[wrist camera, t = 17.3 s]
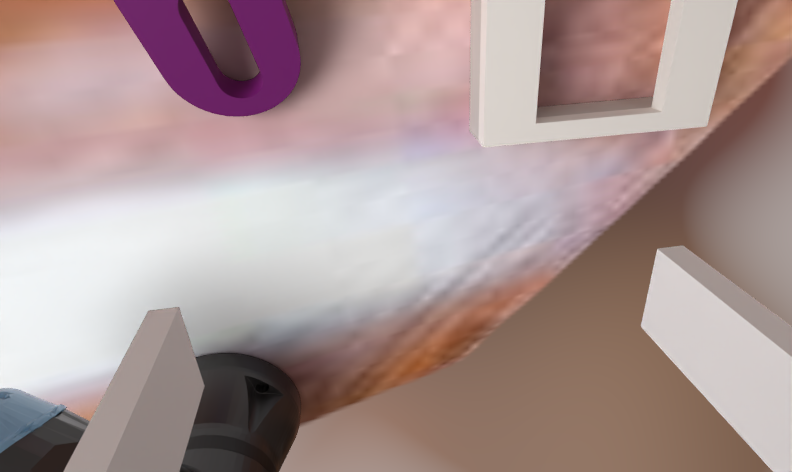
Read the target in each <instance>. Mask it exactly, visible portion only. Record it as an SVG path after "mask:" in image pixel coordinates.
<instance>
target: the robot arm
mask: <svg viewBox="0 0 792 472" xmlns="http://www.w3.org/2000/svg"><path fill="white" fill-rule="evenodd" d="M641 327H642V329H643V330H645V332H646V333H647V334H648V335H649V336H650V337H651V338H652V340H653V341H654V342H655V343H656V344H657V345H658V346H659V347H660V348H661V349H662V350H663V352H664V353H665V354H666V355H667V356H668V357H669V358H670V359H671V360H672V361H673V363H674V364H675V365H676V366H677V367H678V368H679V369H680V370H681V371H682V372H683V373H684V374H685V375H686V377H687V378H688V379H689V380H690V381H691V382H692V383H693V384H694V385H695V387H696V388H697V389H698V390H699V391H700V392H701V393H702V394H703V395H704V396H705V398H706V399H707V400H708V401H709V402H710V403H711V404H712V405H713V406H714V407H715V408H716V410H717V411H718V412H719V413H720V414H721V415H722V416H723V417H724V418H725V419H726V420H727V422H728V423H729V424H730V425H731V426H732V427H733V428H734V429H735V430H736V431H737V433H738V434H739V435H740V436H741V437H742V438H743V439H744V440H745V441H746V442H747V444H749V446H750V447H751V448H752V449H753V450H754V451H755V452H756V453H757V454H758V456H759V457H760V458H761V459H762V460H763V461H764V462H765V463H766V464H767V465H768V467H769V468H770V469H771V470H772V471H773V472H792V326H791V325H789V324H788V323H787V322H785V321H784V320H783V319H781V318H780V317H779V316H777V315H776V314H775V313H773V312H772V311H771V310H769V309H768V308H766V307H765V306H764V305H762V304H761V303H759V302H758V301H757V300H756V299H754V298H753V297H752V296H750V295H749V294H748V293H746V292H745V291H744V290H742V289H741V288H739V287H738V286H737V285H735V284H734V283H732V282H731V281H730V280H729V279H727V278H726V277H724V276H723V275H722V274H721V273H719V272H718V271H717V270H715V269H714V268H712V267H711V266H710V265H708V264H707V263H706V262H704V261H703V260H702V259H700V258H699V257H698V256H696V255H695V254H694V253H692V252H691V251H690V250H688V249H687V248H686V247H684V246H676V247H668V248H659V249H657V253H656V258H655V263H654V267H653V272H652V277H651V281H650V286H649V291H648V295H647V300H646V305H645V310H644V315H643V319H642V324H641ZM66 408H67V407H66V406H64V405H61V404H60V405H55V404H52V403H50V402H47V401H45V400H42V399H40V398H37V397H35V396H33V395H30V394H28V393H26V392H23V391H21V390H18V389H13V388H3V389H0V472H279V471H280V468H281V466H282V464H283V462H284V460H285V458H286V456H287V454H288V452H289V450H290V448H291V446H292V444H293V442H294V440H295V438H296V435H297V432H298V429H299V424H300V413H301V401H300V396H299V393H298V391H297V389H296V387H295V385H294V384H293V382H292V381H291V380H290V379H289V377H288V376H287V375H286V374H284V373H283V372H282V371H281V370H279V369H278V368H276V367H275V366H273V365H271V364H269V363H267V362H265V361H263V360H260V359H257V358H254V357H250V356H246V355H240V354H230V353H221V354H210V355H205V356H200V357H197V358H195V355H194V352H193V349H192V346H191V343H190V340H189V336H188V333H187V330H186V327H185V324H184V321H183V318H182V315H181V312H180V309H179V307H175V308H167V309H159V310H151V311H148V313H147V315H146V316H145V318H144V320H143V322H142V324H141V326H140V328H139V330H138V332H137V333H136V335H135V337H134V339H133V341H132V343H131V345H130V347H129V349H128V350H127V352H126V354H125V356H124V358H123V360H122V362H121V364H120V366H119V367H118V369H117V371H116V373H115V375H114V377H113V379H112V381H111V383H110V384H109V386H108V388H107V390H106V392H105V394H104V396H103V398H102V400H101V401H100V403H99V405H98V407H97V409H96V411H95V413H94V415H93V417H92V419H91V420H90V421H88V420H86V419H84V418H82V417H80V416H78V415H76V414H74V413H72V412H70V411H68V410H66Z"/></svg>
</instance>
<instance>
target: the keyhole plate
mask: <svg viewBox="0 0 792 472" xmlns="http://www.w3.org/2000/svg"><path fill="white" fill-rule="evenodd" d="M737 2H738V0H671V5H670V10H669V15H668V21H667V26H666V32H665V37H664V42H663V48H662V53H661V58H660V64H659V69H658V74H657V80H656V85H655V90H654V96H653V97H643V98H632V99H621V100H610V101H599V102H588V103H577V104H566V105H554V106H543V107H537V101H538V88H539V75H540V62H541V49H542V36H543V23H544V10H545V0H471V28H470V117H469V131H470V132H471V133H472V135H473V136H474V137H475V138H476V139H477V141H478V142H479V143H480V144H481V145H482V147H483V148H485V147H496V146H506V145H517V144H527V143H538V142H548V141H559V140H569V139H580V138H591V137H601V136H612V135H622V134H633V133H643V132H654V131H664V130H675V129H685V128H696V127H706V126H707V124H708V120H709V116H710V112H711V108H712V104H713V100H714V96H715V92H716V87H717V83H718V79H719V75H720V71H721V67H722V63H723V59H724V55H725V51H726V47H727V43H728V39H729V34H730V30H731V26H732V22H733V18H734V14H735V10H736V6H737Z"/></svg>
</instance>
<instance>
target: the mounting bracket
mask: <svg viewBox="0 0 792 472" xmlns="http://www.w3.org/2000/svg"><path fill="white" fill-rule="evenodd" d="M228 1H229V3H230V5H231V7H232V10H233V12H234V14H235V16H236V19H237V21H238V23H239V25H240V27H241V30H242V32H243V34H244V36H245V39H246V41H247V43H248V45H249V47H250V50H251V52H252V54H253V56H254V59H255V61H256V63H257V65H258V68H259V70H260V72H259V74H258V75H257V76H256V77H254V78H253V79H250V80H247V81H236V80H232V79H230V78H228V77H226V76H225V75H224V74H223V73H222V72H221V71H220V70H219V68H218V66H217V64H216V62H215V61H214V59H213V57H212V55H211V53H210V51H209V49H208V47H207V45H206V44H205V42H204V40H203V38H202V36H201V34H200V32H199V30H198V28H197V27H196V25H195V23H194V21H193V19H192V17H191V15H190V13H189V11H188V10H187V8H186V6H185V4H184V2H183V0H114V2H115V3H116V5H117V7H118V8H119V10H120V11H121V13H122V14H123V16H124V17H125V19H126V20H127V22H128V23H129V25H130V27H131V28H132V30H133V31H134V33H135V34H136V36H137V37H138V39H139V40H140V42H141V43H142V45H143V47H144V48H145V50H146V51H147V53H148V54H149V56H150V57H151V59H152V60H153V62H154V64H155V65H156V67H157V68H158V70H159V71H160V73H161V74H162V76H163V77H164V79H165V80H166V82H167V83H168V84H169V86H170V87H171V88H172V89H173V90H174V91H175V92H176V93H177V94H178V95H179V96H181V97H182V98H183V99H184V100H186V101H187V102H189V103H191V104H192V105H194V106H196V107H198V108H200V109H203V110H205V111H208V112H211V113H215V114H219V115H225V116H249V115H255V114H258V113H262V112H264V111H267V110H269V109H271V108H273V107H275V106H276V105H278V104H279V103H281V102H282V101H283V100H284V99H285V98H286V97H287V96H288V95H289V94H290V93H291V91H292V90H293V88H294V87H295V85H296V83H297V80H298V77H299V73H300V65H301V62H300V52H299V45H298V39H297V33H296V30H295V27H294V24H293V21H292V18H291V15H290V12H289V10H288V7H287V4H286V1H285V0H228Z"/></svg>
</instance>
